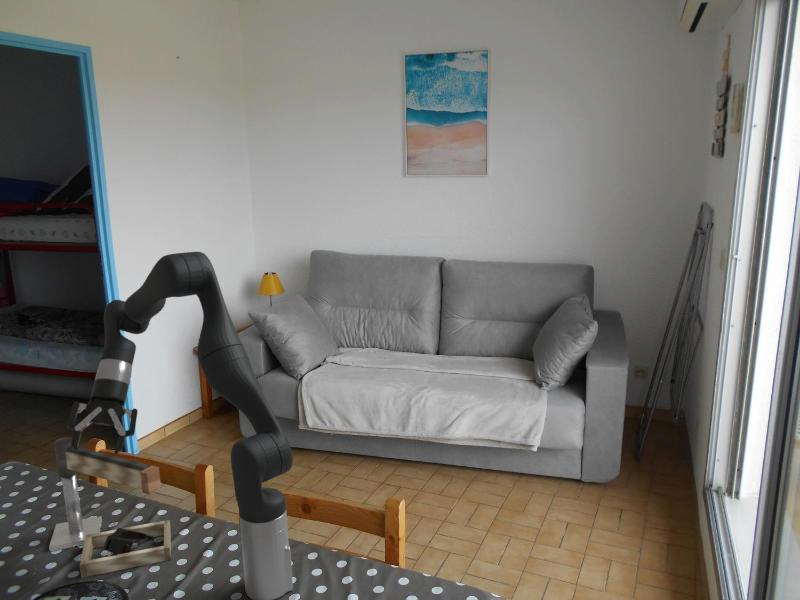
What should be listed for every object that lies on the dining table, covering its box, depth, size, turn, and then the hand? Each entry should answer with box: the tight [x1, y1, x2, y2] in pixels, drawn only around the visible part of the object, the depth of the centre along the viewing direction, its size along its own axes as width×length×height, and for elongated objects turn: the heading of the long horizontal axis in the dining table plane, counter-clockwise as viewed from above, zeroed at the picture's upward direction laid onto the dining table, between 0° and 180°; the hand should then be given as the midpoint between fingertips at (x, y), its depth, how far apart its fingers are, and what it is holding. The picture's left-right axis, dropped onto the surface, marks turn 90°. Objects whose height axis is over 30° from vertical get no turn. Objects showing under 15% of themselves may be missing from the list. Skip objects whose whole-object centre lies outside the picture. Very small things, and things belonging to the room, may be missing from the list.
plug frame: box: [79, 519, 172, 578], centre depth 146 cm, size 18×12×3 cm, turn 109°
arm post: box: [48, 473, 103, 552], centre depth 152 cm, size 10×10×16 cm
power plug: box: [102, 527, 154, 557], centre depth 146 cm, size 6×8×12 cm
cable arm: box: [53, 436, 162, 496], centre depth 144 cm, size 30×4×8 cm, turn 64°
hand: (96, 451), depth 146 cm, fingers open, 8 cm apart
